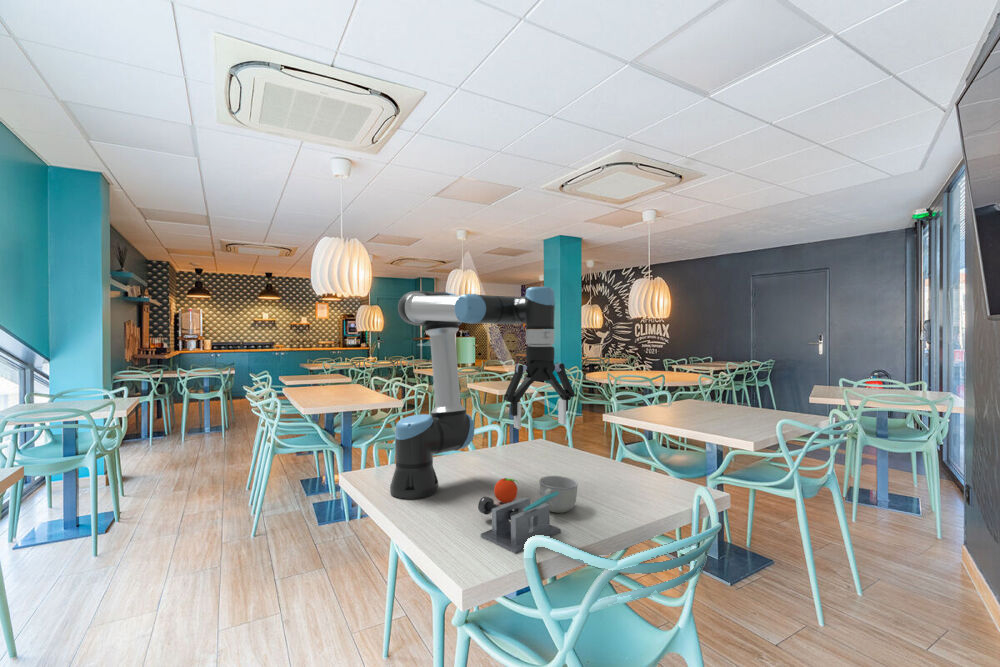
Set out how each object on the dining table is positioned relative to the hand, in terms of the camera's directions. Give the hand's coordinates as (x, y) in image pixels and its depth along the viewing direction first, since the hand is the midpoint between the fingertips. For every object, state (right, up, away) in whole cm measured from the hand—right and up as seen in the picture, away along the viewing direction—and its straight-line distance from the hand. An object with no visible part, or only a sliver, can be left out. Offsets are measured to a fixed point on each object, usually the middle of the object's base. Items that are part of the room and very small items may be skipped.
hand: (540, 426), depth 121 cm
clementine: (-8, -26, +14) cm, 30 cm away
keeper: (-1, -16, -13) cm, 20 cm away
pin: (-10, -23, -3) cm, 26 cm away
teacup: (+5, -25, +7) cm, 27 cm away
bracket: (-5, -25, -8) cm, 27 cm away
